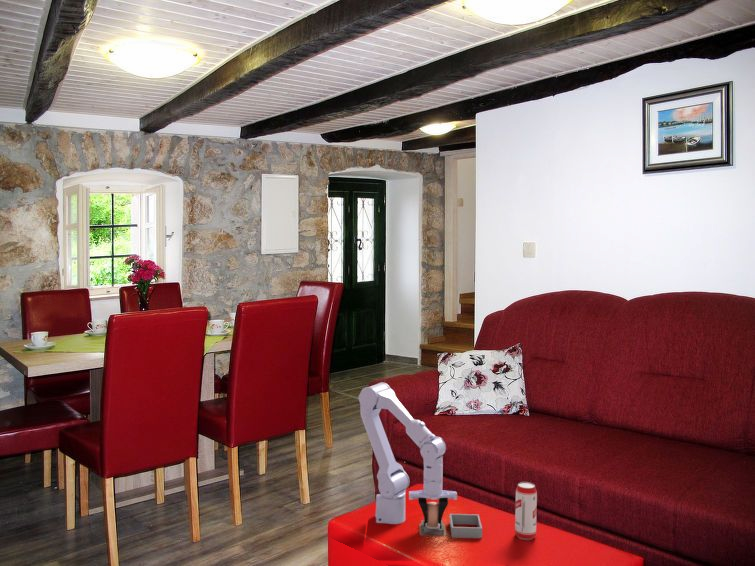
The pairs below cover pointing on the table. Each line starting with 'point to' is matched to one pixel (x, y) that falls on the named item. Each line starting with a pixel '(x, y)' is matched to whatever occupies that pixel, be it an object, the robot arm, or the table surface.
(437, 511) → the peach cylinder
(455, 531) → the bin
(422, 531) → the square framed plate
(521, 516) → the beer can
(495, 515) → the table surface
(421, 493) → the robot arm
